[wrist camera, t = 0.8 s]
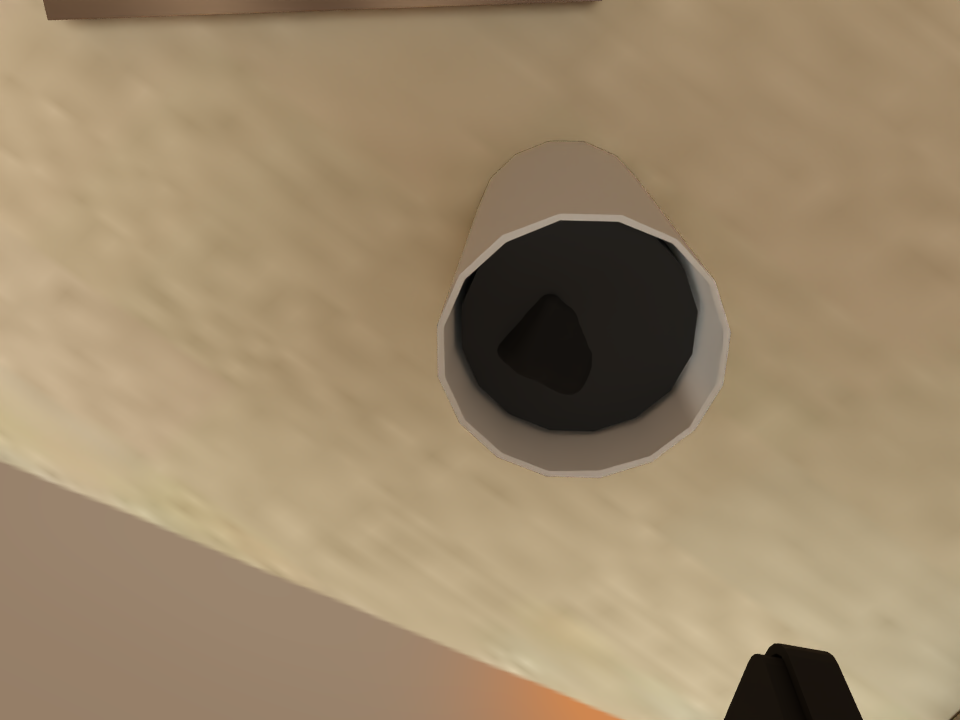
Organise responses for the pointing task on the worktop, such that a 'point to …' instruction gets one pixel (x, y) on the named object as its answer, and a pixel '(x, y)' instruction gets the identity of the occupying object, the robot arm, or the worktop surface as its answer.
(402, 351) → the worktop surface
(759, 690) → the robot arm
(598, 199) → the white coffee cup
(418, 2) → the walnut board
